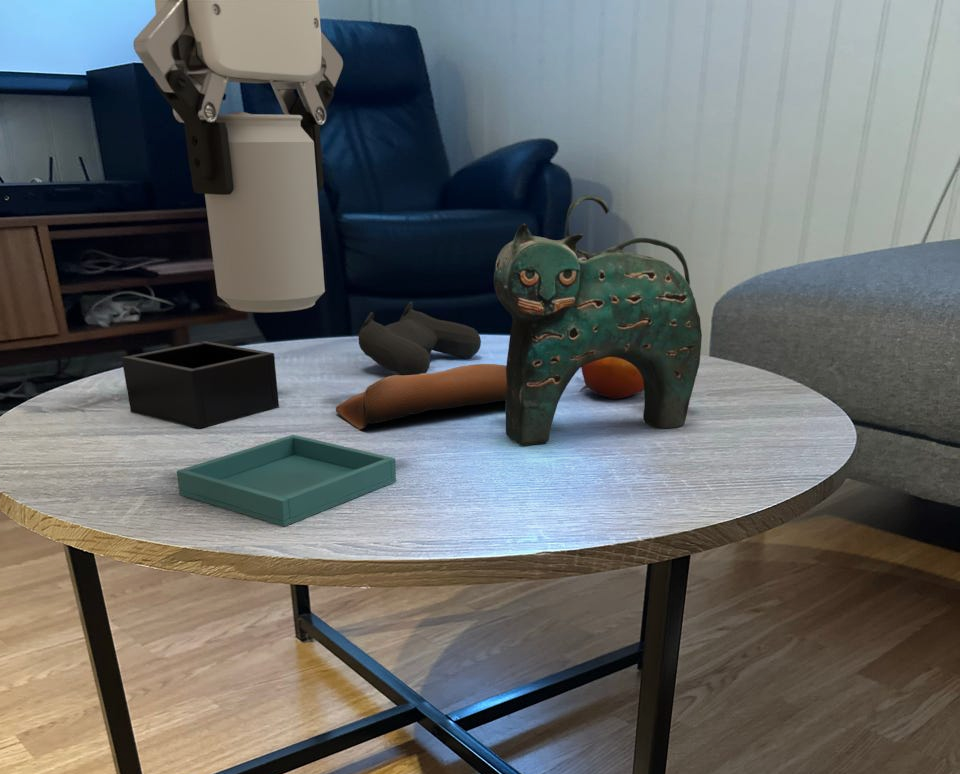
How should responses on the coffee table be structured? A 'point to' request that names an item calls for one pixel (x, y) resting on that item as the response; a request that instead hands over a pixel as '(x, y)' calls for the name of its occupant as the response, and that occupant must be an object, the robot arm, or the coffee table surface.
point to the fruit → (612, 378)
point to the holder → (201, 383)
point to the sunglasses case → (425, 393)
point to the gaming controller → (415, 341)
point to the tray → (286, 478)
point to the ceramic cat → (593, 325)
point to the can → (267, 217)
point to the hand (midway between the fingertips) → (260, 189)
